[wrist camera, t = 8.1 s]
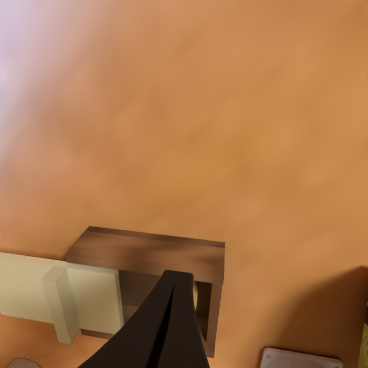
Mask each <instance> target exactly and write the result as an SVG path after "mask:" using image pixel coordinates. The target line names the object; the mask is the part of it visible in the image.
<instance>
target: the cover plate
mask: <svg viewBox="0 0 368 368" xmlns="http://www.w3.org/2000/svg"><path fill="white" fill-rule="evenodd" d="M0 312H1V315H6V316H12V317H18V318H23V319H29V320H35V321H40V322H46V323H52V324H54V327H55V331H56V335H57V338H58V342H60V343H65V344H71V343H72V342H73V340H74V338H75V336H76V334H77V333H78V331H79V329H86V330H92V331H98V332H103V333H109V334H116V333H117V332H118V331H119V330H120V329H121V328H122V326H123V325H124V321H123V311H122V302H121V292H120V283H119V273H118V270H116V269H109V268H102V267H95V266H88V265H81V264H74V263H67V262H66V261H59V260H52V259H45V258H38V257H31V256H24V255H17V254H10V253H2V252H0Z"/></svg>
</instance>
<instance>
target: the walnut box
mask: <svg viewBox="0 0 368 368" xmlns="http://www.w3.org/2000/svg"><path fill="white" fill-rule="evenodd" d="M224 254H225V242H216V241H208V240H200V239H191V238H183V237H175V236H167V235H158V234H150V233H142V232H133V231H125V230H117V229H109V228H100V227H92V226H89V227H88V228H87V230H86V231H85V232H84V233H83V234H82V236H81V237H80V238H79V239H78V240H77V241H76V243H75V244H74V245H73V246H72V247H71V249H70V250H69V251H68V252H67V253H66V254H65V257H66V262H67V263H74V264H81V265H88V266H95V267H102V268H109V269H116V270H118V273H119V283H120V292H121V302H122V311H123V321H124V324H125V323H126V322H127V321H128V320H129V319H130V318H131V316H132V315H133V314H134V313H135V312H136V310H137V309H138V308H139V307H140V306H141V304H142V303H143V302H144V300H145V299H146V298H147V296H148V295H149V294H150V292H151V291H152V290H153V288H154V287H155V285H156V284H157V282H158V281H159V279H160V277H161V276H162V274H163V272H164V271H165V270H173V271H181V272H188V273H192V274H193V275H194V280H193V297H194V305H195V311H196V317H197V322H198V327H199V331H200V336H201V340H202V343H203V347H204V350H205V354H206V357H211V358H214V350H215V339H216V331H217V322H218V314H219V306H220V298H221V290H222V285H223V280H224ZM81 333H82V335H88V336H93V337H99V338H104V339H111V338H112V337H113V336H114V335H115V334H109V333H103V332H98V331H92V330H86V329H81Z"/></svg>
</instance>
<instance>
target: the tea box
mask: <svg viewBox="0 0 368 368" xmlns="http://www.w3.org/2000/svg"><path fill="white" fill-rule="evenodd" d="M357 368H368V303H367V309H366V313H365V322H364V327H363V334H362V340H361V347H360V353H359V360H358V367H357Z"/></svg>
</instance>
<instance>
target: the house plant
mask: <svg viewBox="0 0 368 368" xmlns="http://www.w3.org/2000/svg"><path fill="white" fill-rule="evenodd" d="M7 368H40V367H39V366H38V365H37V364H36V363H34V362H32V361H30V360H27V359H22V358H18V359H15V360H13V361H12V362H11V363H10V365H9V366H8V367H7Z"/></svg>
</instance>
